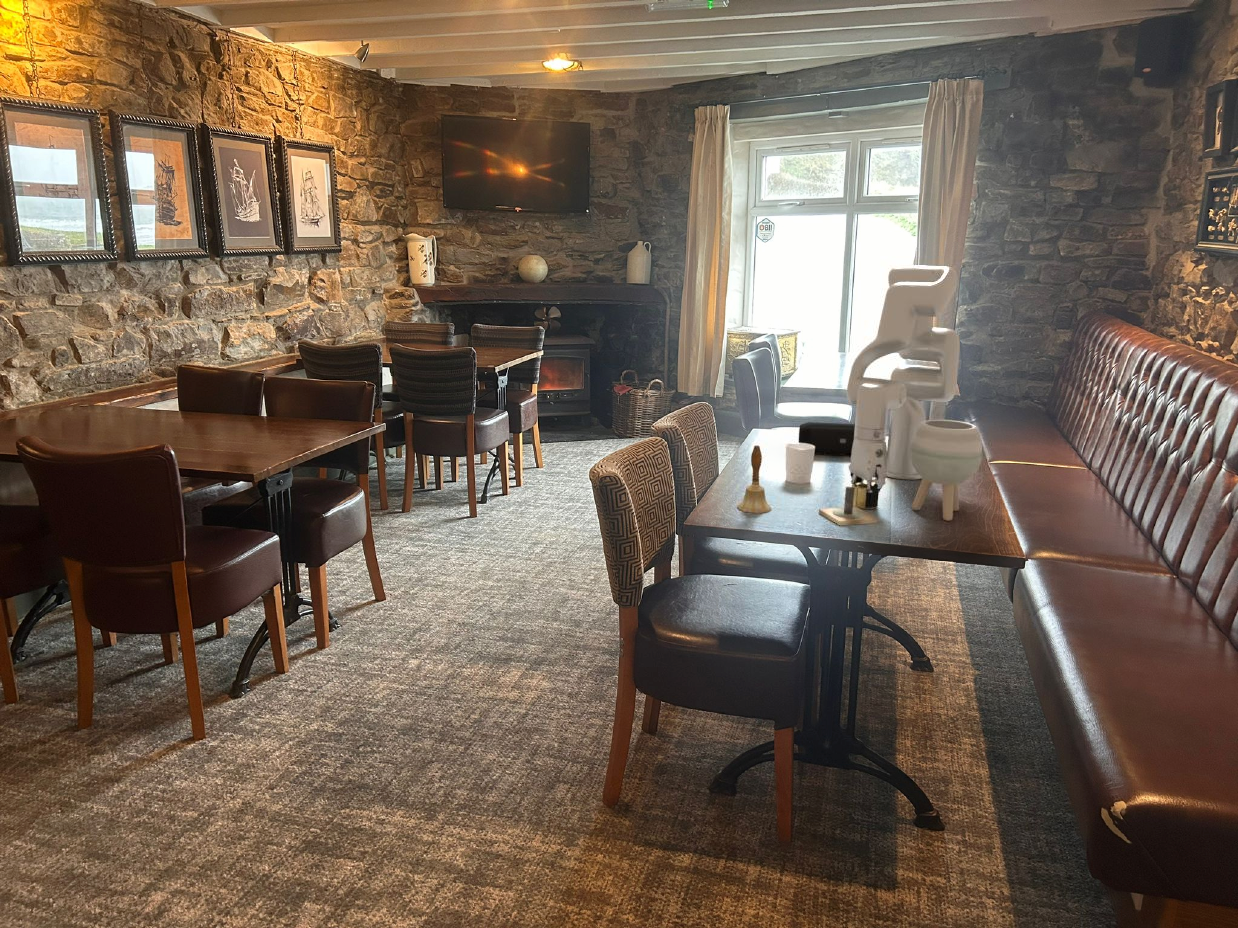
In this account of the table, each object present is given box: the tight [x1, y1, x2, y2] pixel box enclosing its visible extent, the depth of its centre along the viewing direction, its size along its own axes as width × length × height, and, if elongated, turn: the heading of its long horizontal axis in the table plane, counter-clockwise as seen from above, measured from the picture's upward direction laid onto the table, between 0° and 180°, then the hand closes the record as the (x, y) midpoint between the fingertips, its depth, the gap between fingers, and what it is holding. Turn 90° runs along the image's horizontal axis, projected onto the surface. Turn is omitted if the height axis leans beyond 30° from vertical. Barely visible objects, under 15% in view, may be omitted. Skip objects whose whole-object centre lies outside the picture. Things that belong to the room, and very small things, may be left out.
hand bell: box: [736, 445, 772, 514], centre depth 209 cm, size 8×8×16 cm
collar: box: [851, 482, 876, 510], centre depth 214 cm, size 6×6×5 cm
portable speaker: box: [798, 421, 855, 457], centre depth 269 cm, size 26×10×10 cm, turn 83°
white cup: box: [785, 442, 815, 485], centre depth 236 cm, size 8×8×10 cm
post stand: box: [818, 486, 879, 526], centre depth 204 cm, size 10×10×8 cm
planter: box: [910, 419, 983, 522], centre depth 207 cm, size 16×16×22 cm
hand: (864, 502), depth 215 cm, fingers closed on collar, 6 cm apart
